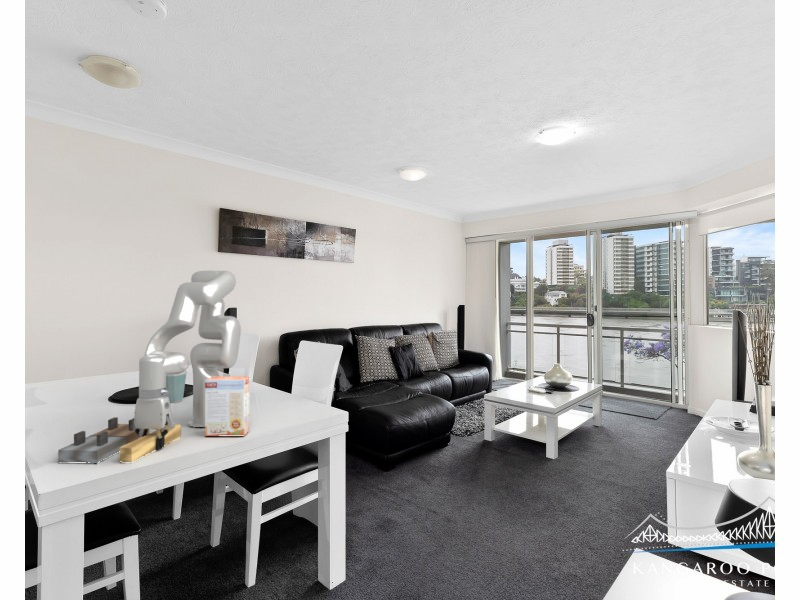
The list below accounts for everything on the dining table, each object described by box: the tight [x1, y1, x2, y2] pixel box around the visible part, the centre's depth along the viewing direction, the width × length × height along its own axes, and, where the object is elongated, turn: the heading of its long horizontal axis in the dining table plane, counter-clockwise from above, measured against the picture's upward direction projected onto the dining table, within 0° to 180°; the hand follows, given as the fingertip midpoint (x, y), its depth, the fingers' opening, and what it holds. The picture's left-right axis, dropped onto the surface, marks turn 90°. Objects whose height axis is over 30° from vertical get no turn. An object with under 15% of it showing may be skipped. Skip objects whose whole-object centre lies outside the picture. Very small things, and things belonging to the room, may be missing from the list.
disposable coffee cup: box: [166, 369, 188, 404], centre depth 190 cm, size 11×11×15 cm
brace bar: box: [119, 423, 182, 462], centre depth 132 cm, size 4×22×5 cm, turn 172°
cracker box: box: [204, 376, 250, 436], centre depth 147 cm, size 14×6×21 cm, turn 92°
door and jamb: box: [57, 416, 150, 463], centre depth 133 cm, size 12×24×8 cm, turn 178°
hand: (152, 448), depth 133 cm, fingers closed on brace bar, 4 cm apart
